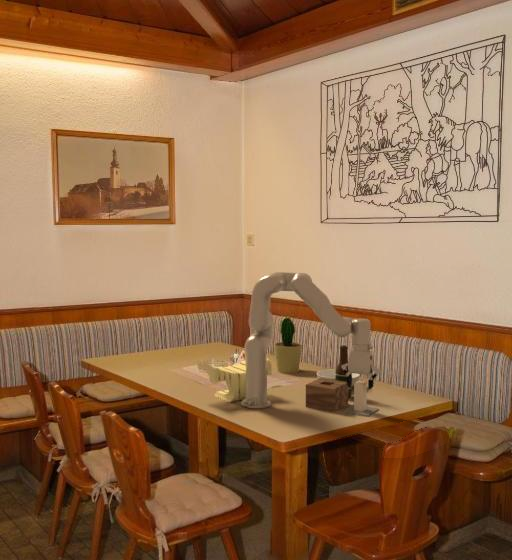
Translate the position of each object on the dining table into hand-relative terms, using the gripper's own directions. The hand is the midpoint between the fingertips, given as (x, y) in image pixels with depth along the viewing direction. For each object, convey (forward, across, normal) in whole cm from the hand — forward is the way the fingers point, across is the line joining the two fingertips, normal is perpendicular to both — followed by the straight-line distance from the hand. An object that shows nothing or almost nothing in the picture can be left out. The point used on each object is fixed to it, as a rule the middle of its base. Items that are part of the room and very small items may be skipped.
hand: (359, 386), depth 282 cm
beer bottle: (+11, +16, -17) cm, 26 cm away
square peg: (+10, 0, 0) cm, 10 cm away
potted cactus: (+11, +64, -49) cm, 81 cm away
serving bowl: (+11, +26, -32) cm, 43 cm away
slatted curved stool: (+12, +58, +11) cm, 60 cm away
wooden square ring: (+11, +16, 0) cm, 19 cm away
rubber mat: (+11, 0, 0) cm, 11 cm away
